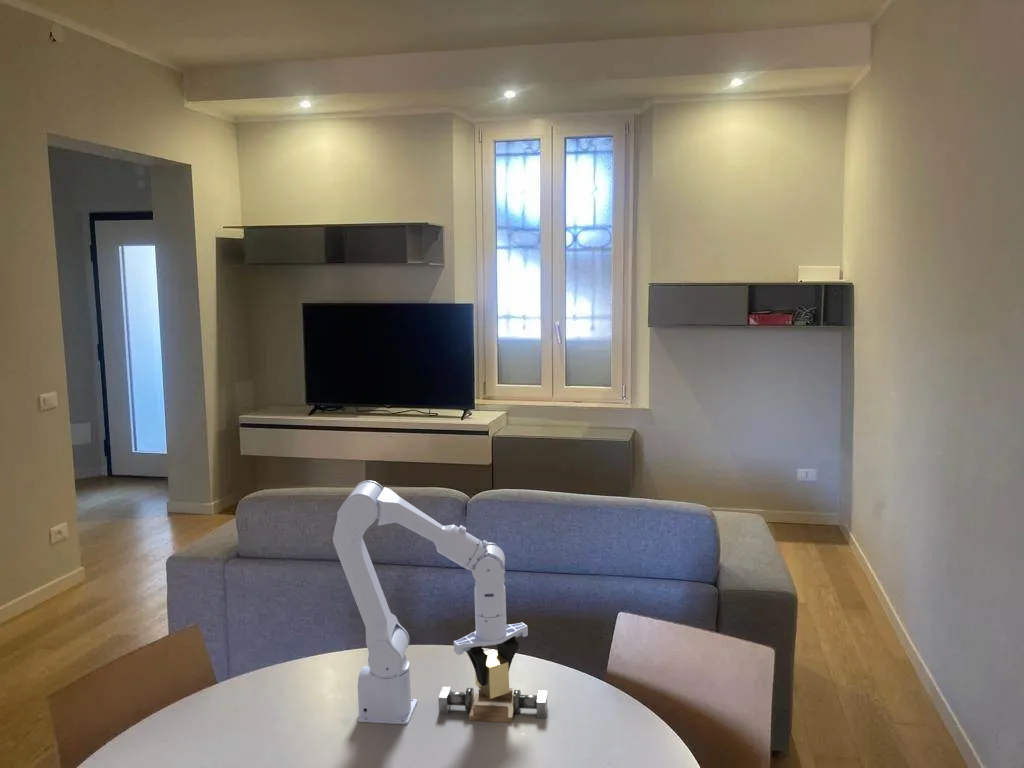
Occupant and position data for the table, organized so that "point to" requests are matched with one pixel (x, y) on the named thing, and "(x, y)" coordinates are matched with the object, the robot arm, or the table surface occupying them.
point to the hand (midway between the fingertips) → (492, 679)
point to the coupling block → (495, 675)
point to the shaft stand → (492, 704)
